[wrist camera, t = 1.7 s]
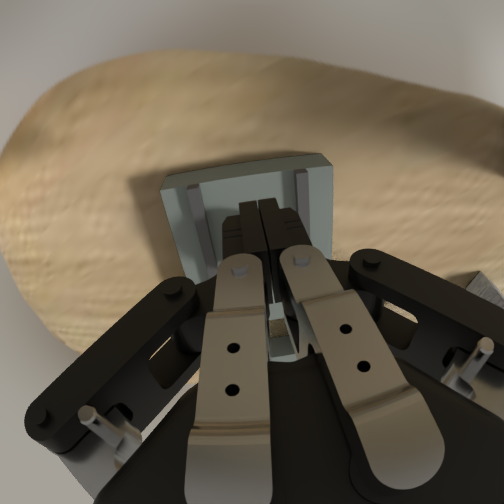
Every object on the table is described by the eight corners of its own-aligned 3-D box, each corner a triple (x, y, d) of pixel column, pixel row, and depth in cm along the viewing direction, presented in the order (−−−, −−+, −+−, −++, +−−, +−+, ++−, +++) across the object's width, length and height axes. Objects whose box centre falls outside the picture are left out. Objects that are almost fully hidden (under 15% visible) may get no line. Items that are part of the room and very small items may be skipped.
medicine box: (464, 288, 42) (489, 324, 35) (480, 269, 40) (507, 304, 33) (478, 299, 45) (501, 331, 38) (493, 282, 42) (517, 314, 35)
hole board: (321, 153, 28) (336, 169, 24) (317, 345, 45) (324, 368, 41) (166, 176, 28) (157, 195, 24) (222, 359, 45) (223, 384, 41)
